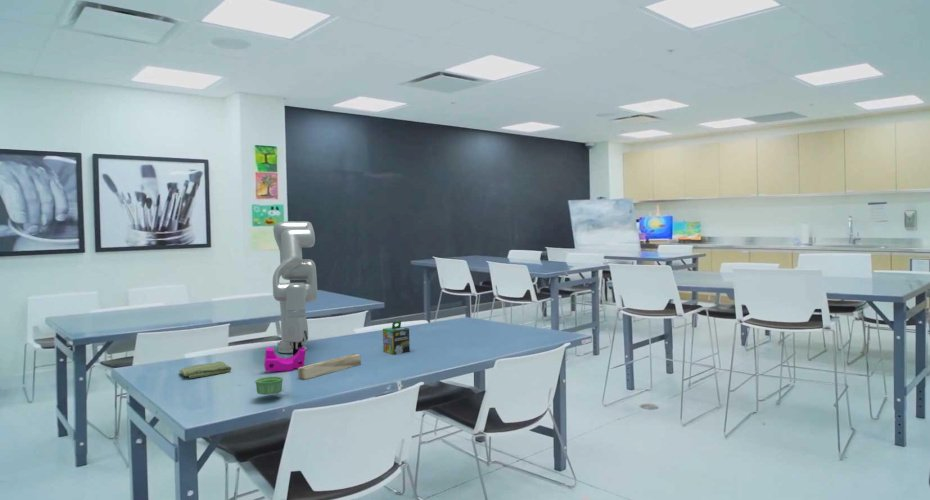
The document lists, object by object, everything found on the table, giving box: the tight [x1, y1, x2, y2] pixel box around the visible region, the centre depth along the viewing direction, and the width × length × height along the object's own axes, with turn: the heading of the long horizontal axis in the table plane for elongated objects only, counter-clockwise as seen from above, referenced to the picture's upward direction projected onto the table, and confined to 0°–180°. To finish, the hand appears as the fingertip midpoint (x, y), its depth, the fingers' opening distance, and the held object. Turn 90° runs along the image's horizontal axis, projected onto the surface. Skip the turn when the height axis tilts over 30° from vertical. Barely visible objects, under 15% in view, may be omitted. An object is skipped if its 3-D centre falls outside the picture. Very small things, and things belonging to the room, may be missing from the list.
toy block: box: [264, 347, 307, 372], centre depth 230 cm, size 15×6×8 cm, turn 115°
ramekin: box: [254, 375, 284, 396], centre depth 196 cm, size 9×9×4 cm
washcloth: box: [178, 360, 232, 379], centre depth 229 cm, size 13×18×3 cm
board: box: [297, 353, 362, 380], centre depth 226 cm, size 4×30×4 cm, turn 148°
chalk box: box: [382, 320, 411, 356], centre depth 261 cm, size 9×9×15 cm
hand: (297, 358), depth 236 cm, fingers closed
